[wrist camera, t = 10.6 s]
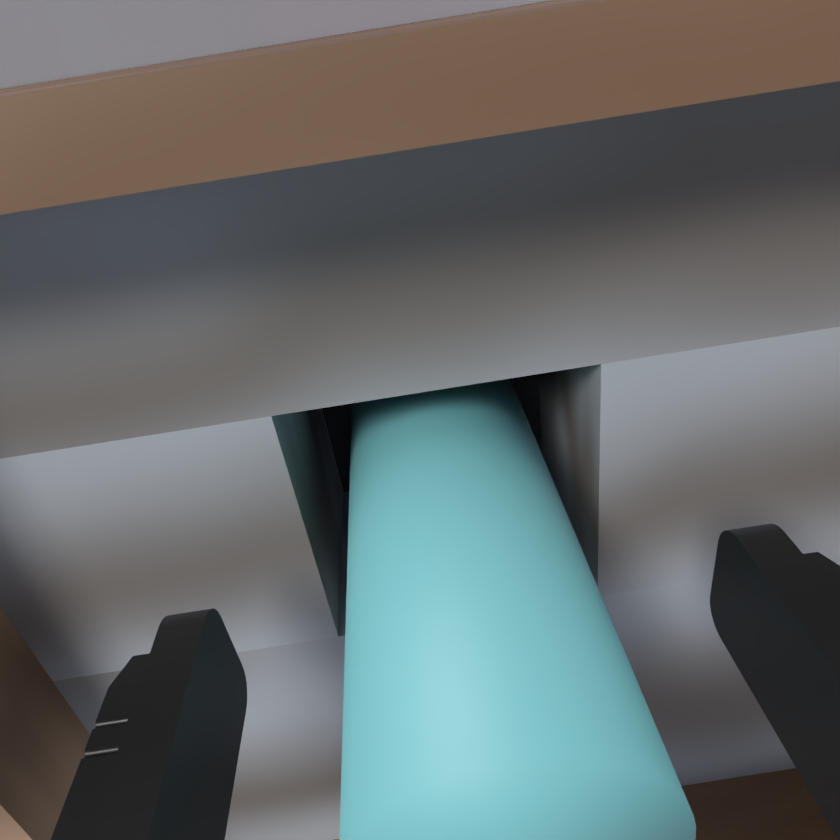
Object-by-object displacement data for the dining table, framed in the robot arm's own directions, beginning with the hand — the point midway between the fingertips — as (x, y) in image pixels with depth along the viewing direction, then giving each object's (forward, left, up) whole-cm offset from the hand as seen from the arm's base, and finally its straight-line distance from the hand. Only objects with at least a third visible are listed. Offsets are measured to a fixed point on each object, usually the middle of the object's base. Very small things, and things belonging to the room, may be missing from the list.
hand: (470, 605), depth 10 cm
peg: (0, 0, -7) cm, 7 cm away
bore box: (+2, 0, -7) cm, 7 cm away
